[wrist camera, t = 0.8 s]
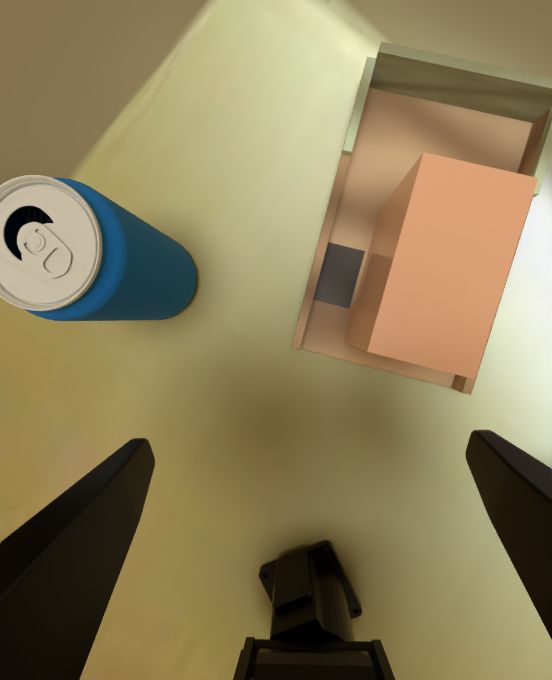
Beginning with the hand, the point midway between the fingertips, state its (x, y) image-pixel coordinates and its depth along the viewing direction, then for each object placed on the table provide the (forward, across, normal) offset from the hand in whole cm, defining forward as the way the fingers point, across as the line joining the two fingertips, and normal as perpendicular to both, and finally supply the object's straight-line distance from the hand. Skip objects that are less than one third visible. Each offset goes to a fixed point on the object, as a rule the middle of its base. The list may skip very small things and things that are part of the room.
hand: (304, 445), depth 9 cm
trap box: (+18, -9, -2) cm, 20 cm away
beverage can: (+18, +11, 0) cm, 21 cm away
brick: (+16, -8, +1) cm, 18 cm away
